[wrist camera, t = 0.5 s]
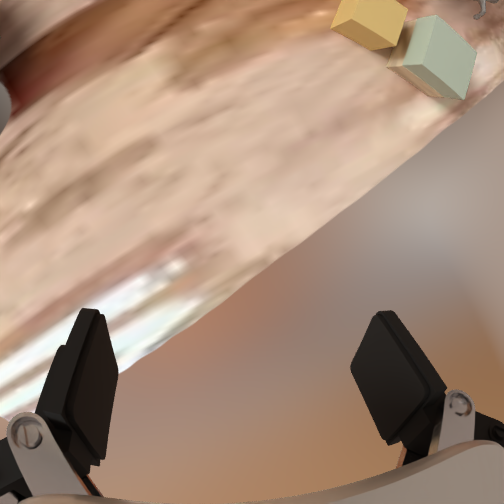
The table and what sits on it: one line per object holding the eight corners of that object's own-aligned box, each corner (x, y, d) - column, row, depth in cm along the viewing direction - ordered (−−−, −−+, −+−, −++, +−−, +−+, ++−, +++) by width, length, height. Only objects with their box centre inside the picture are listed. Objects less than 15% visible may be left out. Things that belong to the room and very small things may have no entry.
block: (343, -5, 25) (365, -19, 20) (382, 17, 27) (407, 9, 22) (330, 28, 28) (351, 18, 23) (370, 50, 29) (396, 46, 24)
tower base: (400, 23, 28) (417, 19, 24) (439, 53, 30) (457, 53, 26) (385, 67, 31) (402, 66, 27) (426, 95, 33) (444, 97, 30)
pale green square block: (417, 18, 24) (436, 14, 21) (457, 52, 26) (477, 52, 23) (402, 65, 27) (421, 64, 24) (444, 97, 30) (464, 100, 26)
